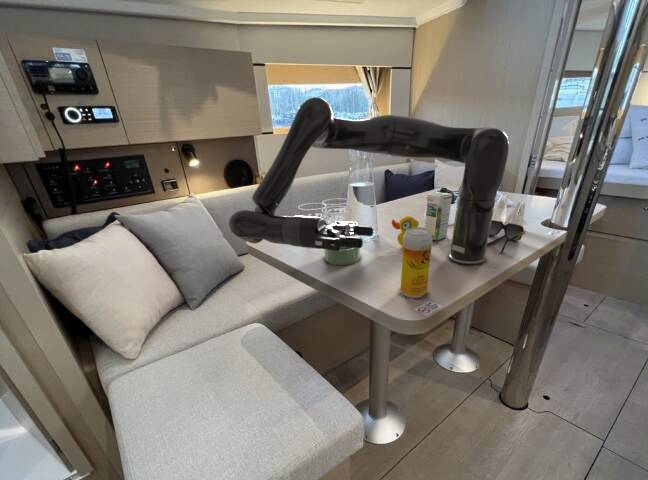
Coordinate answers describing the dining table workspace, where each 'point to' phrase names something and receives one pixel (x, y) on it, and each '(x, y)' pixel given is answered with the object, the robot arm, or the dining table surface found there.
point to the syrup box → (438, 214)
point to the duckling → (404, 226)
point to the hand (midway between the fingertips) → (367, 236)
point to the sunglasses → (507, 231)
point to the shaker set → (501, 212)
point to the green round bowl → (342, 256)
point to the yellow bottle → (416, 261)
